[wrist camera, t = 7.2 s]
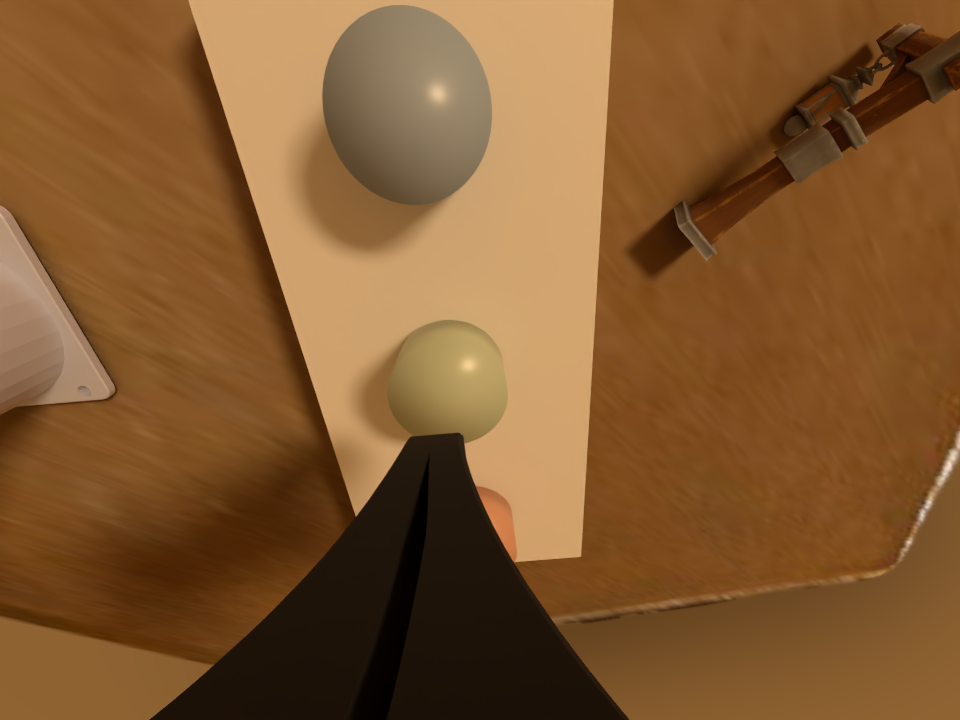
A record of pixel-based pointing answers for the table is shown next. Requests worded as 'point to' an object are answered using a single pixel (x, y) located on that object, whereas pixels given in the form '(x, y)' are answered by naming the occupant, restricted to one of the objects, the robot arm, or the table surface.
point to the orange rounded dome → (500, 518)
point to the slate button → (407, 104)
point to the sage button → (448, 381)
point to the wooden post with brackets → (833, 126)
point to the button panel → (437, 236)
